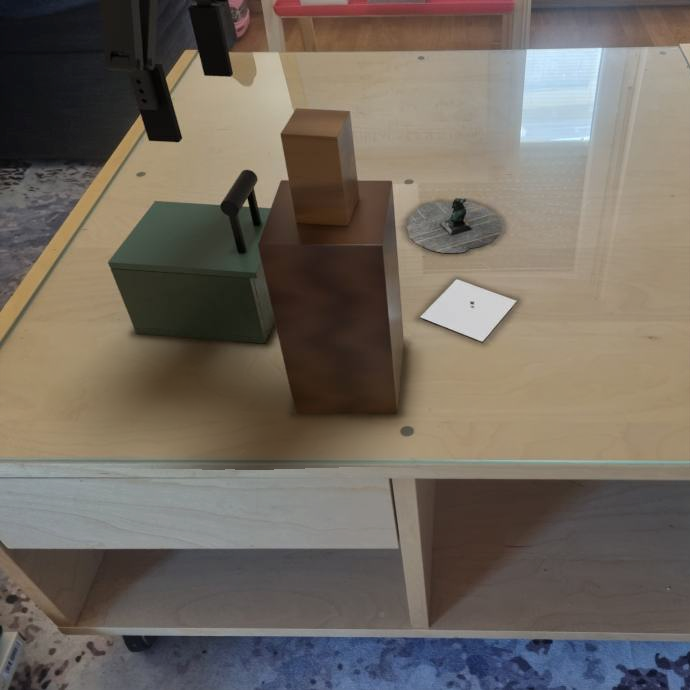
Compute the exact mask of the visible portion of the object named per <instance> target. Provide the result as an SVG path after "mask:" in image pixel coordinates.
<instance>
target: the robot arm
mask: <svg viewBox="0 0 690 690" xmlns="http://www.w3.org/2000/svg"><path fill="white" fill-rule="evenodd" d="M190 1H191V2H192V3H193V4H191V5H189V6H188V7H187V9H188V14H189V18H190V22H191V27H192V30H193V31H192V32H193V35H194V38H195V43H196V47H197V52H198V55H199V60H200V63H201V68H202V73H203V76H204V77H227V78H228V77H229V78H231V77H232V76H233V75H234V71H233V67H232V62H231V58H230V53H229V48H228V43H227V39H226V35H225V29H224V24H223V20H222V16H221V11H220V6H219V5H217V4H221V5H222V4H223V5H224V4H225V5H226V4H228V1H229V0H190ZM158 2H159V0H99V5H100V16H101V29H102V40H103V51H104V53H103V54H104V63H105V66H106V68H107V70H108V71H116V72H117V71H118V72H119V71H120V72H121V71H122V72H126V73H127V76H128V79H129V81H130V85H131V89H132V92H133V94H134V98H135V101H136V105H137V108H138V111H139V114H140V117H141V120H142V125H143V126H144V129H145V133H146V137H147V140H148V142H162V143H163V142H165V143H180V142H181V141H182V139H183V136H182V133H181V128H180V125H179V120H178V117H177V114H176V110H175V107H174V103H173V98H172V96H171V93H170V88H169V85H168V81H167V79H166V75H165V69H164V67H163V64H162V63H156V49H157V47H156V46H157V29H158V28H157V25H158ZM194 3H195V4H194Z"/></svg>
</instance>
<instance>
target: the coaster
mask: <svg viewBox="0 0 690 690" xmlns="http://www.w3.org/2000/svg"><path fill="white" fill-rule="evenodd" d="M516 303H517V300H515V299H512V298H510V297H508V296H504V295H501V294H498V293H496V292H493V291H491V290H488V289H486V288H482V287H479V286H476V285H474V284H471V283H468V282H466V281H463V280H460V279H458V278H456V279H455V280H454V281H453V282H452V283H451V284H450V285H449V286H448V287H447V288H446V290H444V292H443V293H442V294H441V295H440V296H439V297H438V298H437V299H436V300H435V301H434V302H433V303H432V304H431V305H430V306H429V307H428V308H427V309H426V310H425V311H424V312H423V313H422V314H421V315H420V318H421V319H423V320H426V321H429V322H432V323H433V324H437V325H439V326H441V327H444V328H446V329H449V330H451V331H454V332H457V333H459V334H461V335H464V336H466V337H469V338H472V339H475V340H476V341H479V342H482V343H483V342H484V341H485V339H487V337H488V336H489V335H490V334H491V332H492V331H493V330H494V329H495V328H496V326H497V325H498V324H499V323H500V322H501V321H502V319H503V318H504V317H505V316H506V315H507V313H508V312H509V311H510V310H511V308H513V306H514V305H515V304H516Z"/></svg>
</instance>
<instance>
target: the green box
mask: <svg viewBox="0 0 690 690" xmlns="http://www.w3.org/2000/svg"><path fill="white" fill-rule="evenodd" d="M110 271H111V274H112V277H113V279H114V281H115V284H116V286H117V289H118V291H119V294H120V297H121V299H122V302H123V304H124V306H125V309H126V311H127V314H128V316H129V319H130V322H131V324H132V327H133V329H134V331H135V334H140V335H141V334H142V335H154V336H163V337H164V336H165V337H179V338H191V339H202V340H203V339H205V340H217V341H229V342H230V341H231V342H239V343H240V342H243V343H253V344H266V343H267V340H268V339H269V336H270V334H271V332H272V329H273V327H274V325H275V320H274V315H273V311H272V306H271V302H270V298H269V293H268V289H267V284H266V280H265V275H264V271H263V268H262V270H261V272H260V274H259V276H258V278H257V279H255V278H241V277H227V276H213V275H199V274H185V273H171V272H157V271H142V270H128V269H114V268H110Z"/></svg>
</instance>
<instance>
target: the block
mask: <svg viewBox="0 0 690 690" xmlns="http://www.w3.org/2000/svg"><path fill="white" fill-rule="evenodd" d="M280 141H281V146H282V151H283V156H284V161H285V168H286V174H287V180H289V185H290V191H291V196H292V202H293V207H294V213H295V219H296V223H302V224H318V225H333V226H348V225H349V223H350V220H351V218H352V215H353V213H354V210H355V208H356V205H357V203H358V200H359V189H358V171H357V162H356V152H355V144H354V134H353V126H352V117H351V111H350V110H340V109H339V110H338V109H320V108H319V109H318V108H301V107H299V108H297V107H296V108H295V109H294V111H293V113H292V114H291V116H290V117H289V119H288V121H287V122H286V124H285V125H284V127H283V129H282V130H281V133H280Z"/></svg>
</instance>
